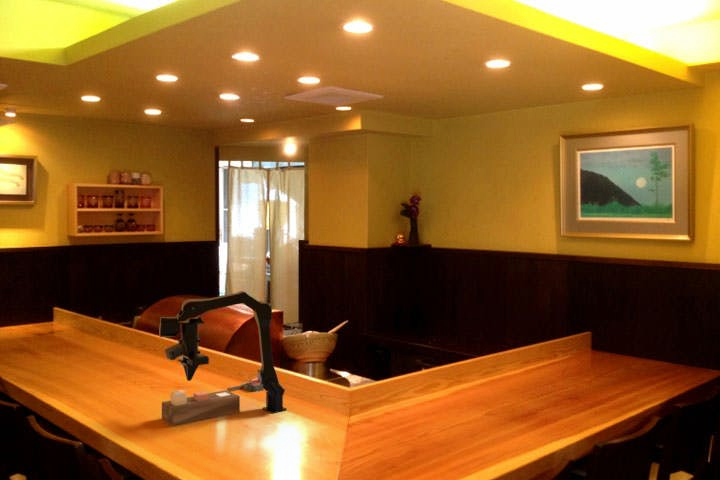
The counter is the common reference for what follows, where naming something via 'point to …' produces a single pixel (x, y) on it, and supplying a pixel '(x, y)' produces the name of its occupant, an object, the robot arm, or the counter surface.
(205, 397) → the plug terracotta
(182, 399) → the cream plug
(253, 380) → the walkie-talkie
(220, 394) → the cream plug
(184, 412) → the socket board
